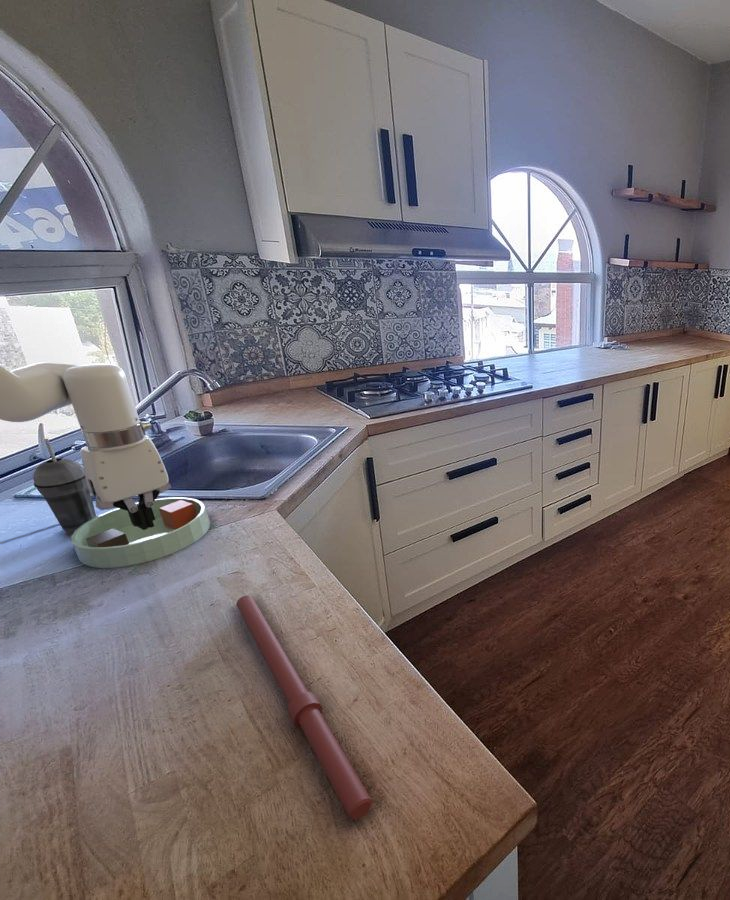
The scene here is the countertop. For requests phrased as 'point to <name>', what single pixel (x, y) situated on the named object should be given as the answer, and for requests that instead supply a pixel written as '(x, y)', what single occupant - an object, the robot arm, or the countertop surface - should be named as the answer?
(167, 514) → the terracotta block
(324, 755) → the rolling pin
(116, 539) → the walnut block
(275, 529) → the countertop surface
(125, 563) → the bowl
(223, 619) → the countertop surface
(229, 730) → the countertop surface
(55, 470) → the beverage cup
